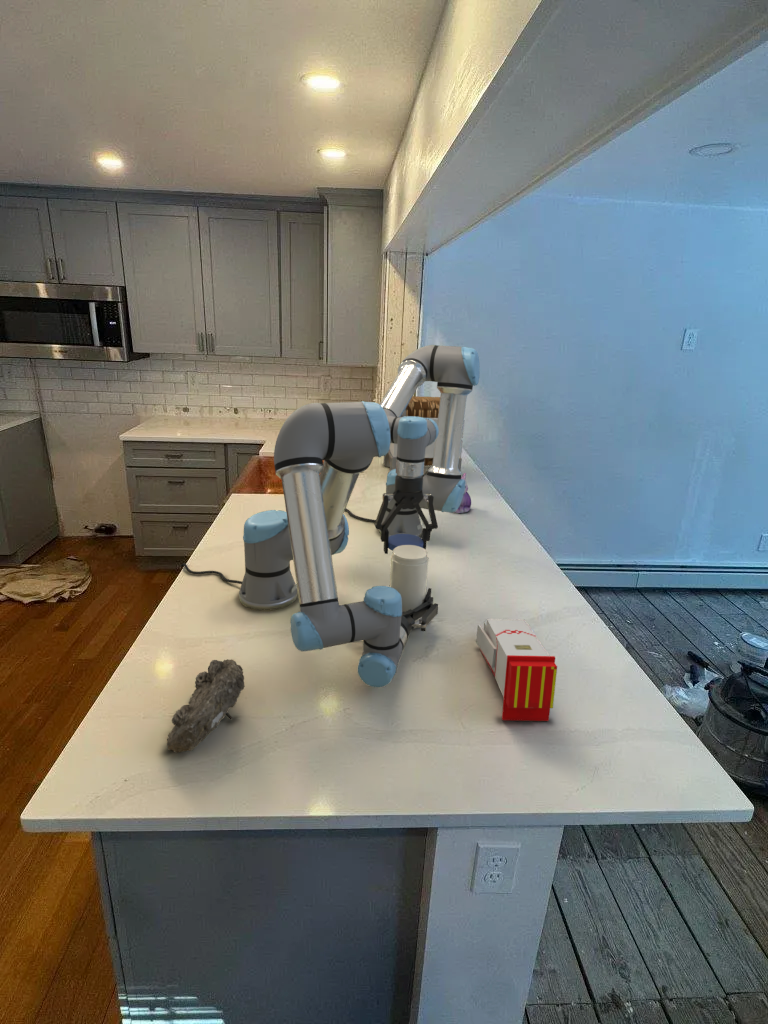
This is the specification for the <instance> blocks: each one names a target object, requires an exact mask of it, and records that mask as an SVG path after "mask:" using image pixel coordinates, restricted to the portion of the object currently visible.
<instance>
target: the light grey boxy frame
mask: <svg viewBox="0 0 768 1024" xmlns="http://www.w3.org/2000/svg"><path fill="white" fill-rule="evenodd" d="M439 405H440V396H415V395H413V396H412V398H411V400H410V402H409V404H408V405H407V407H406V409H405V411H404V412H403V414H402V416H401V417H407V416H416V417H422V418H430V419H432V420H434V421H435V422H436V424H437V422H438V413H439ZM464 429H465V419H464V423H463V431H462V438H461V446H460V454H459V462H458V469H459V471H460V472H461V473H462V461H463V460H462V453H463V442H464V441H463V440H462V439H463V438H464V431H465V430H464ZM434 447H435V441H434V442H433V443H432V444H431V445H428V446H427V447H426V449H425V460H424V467H431V466H432V464H433V456H434ZM396 460H397V444H394V443H390V448H389V451H388V453H387V454H386V455H385V456H383V466H384V467H388V468H389V472H390V471H391V470H393V469H396Z"/></svg>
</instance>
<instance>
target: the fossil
mask: <svg viewBox="0 0 768 1024" xmlns="http://www.w3.org/2000/svg"><path fill="white" fill-rule="evenodd" d="M243 670H244V669H243V667H242V665H240V664H237V662H236V661H235V660H234V659H232V658H231V659H227V658H226V659H224V660H223V661H222V660H217V659H212V660H211V661H210V663H209V665H208V666H207V671H201V672H199V673H198V674H197V675H196V676H195V680H194V684H195V685H194V687H195V689H194V690H193V693H192V694H191V697H190V698H189V700H188V704H184V705H182V706H181V707H180V709H177V710H176V711H175V713H174V715H173V716H172V718H171V723H172V724H173V727H172V730H171V731H170V732H168V734H167V738H166V741H167V742H166V745H167V749H168V750H169V751H173V752H174V753H176V754H178V753H182V752H188V751H189V752H192V751H193V750H195V748H196V747H197V746H199V744H200V743H201V742H203V741H204V740H205V739H206V738H207V737H208V736H209V735H210V734H211V733H212V732H214V730H215V729H217V727H218V726H219V724H220V722H221V721H222V720H223V719H224V718H225V716H226V717H227V719H229V720H233V717H232V715H230V714H229V710H230V709H231V708H234V706H235V704H236V703H237V702H238V699H239V697H240V695H241V693H242V691H243V690H245V689H244V688H245V675H244V671H243Z"/></svg>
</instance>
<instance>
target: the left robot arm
mask: <svg viewBox="0 0 768 1024" xmlns="http://www.w3.org/2000/svg"><path fill="white" fill-rule="evenodd" d="M379 404H380V403H379V402H374V401H364V400H362V401H347V402H346V401H345V402H343V401H342V402H311V403H307V404H304V405H302V406H300V407H298V408H297V409H295V410H294V411H293V412H291V413H290V415H289V416H288V417H287V418H286V419H285V421H284V422H283V424H282V426H281V427H280V429H279V432H278V435H277V437H276V440H275V443H274V449H273V464H274V465H273V466H274V471H275V472H274V473H275V476H277V477H278V478H279V479H280V480H281V484H282V491H283V499H284V504H285V506H284V507H285V510H280V509H278V510H276V509H268V510H264V511H260V512H256V513H254V514H252V515H251V516H250V517H248V518H247V519H246V520H245V522H244V524H243V536H242V540H243V546H244V547H243V548H244V549H243V550H244V575H243V578H242V580H237V579H236V580H235V579H228V578H226V577H225V576H224V574H223V573H222V572H220V571H217V570H202V571H196V570H195V571H193V570H191V569H190V568H189V567H188V565H187V563H186V562H183V563H181V565H180V567H182V568H183V567H184V568H185V570H186V571H187V573H189V574H191V575H192V574H193V575H205V574H206V575H207V574H216V575H218V576H220V578H221V579H222V580H223V581H225V582H226V583H230V584H238V585H241V586H240V588H239V592H238V597H239V602H240V603H241V604H242V605H243V606H244V607H246V608H248V609H251V610H255V611H276V610H281V609H283V608H286V607H288V606H291V605H292V604H293V603H295V602H296V600H297V598H298V603H299V609H300V610H298V611H297V612H294V613H293V614H291V617H290V620H289V621H290V633H291V639H292V642H293V645H294V647H295V648H296V649H297V650H298V651H300V652H308V651H309V652H310V651H317V650H319V651H320V650H323V649H327V648H331V647H336V646H340V645H346V644H350V643H357V642H361V641H362V654H361V656H360V658H359V659H358V665H357V675H358V677H359V678H360V680H361V682H363V684H365V685H367V686H369V687H372V688H377V689H378V688H384V687H386V686H388V685H389V684H391V682H392V681H393V678H394V677H395V675H396V674H397V669H398V666H399V663H400V661H401V658H402V655H403V653H404V649H405V647H406V644H407V642H408V639H409V637H410V634H411V633H412V630H414V629H417V628H419V629H420V631H421V632H426V630H427V626H428V625H429V624H430V623H431V622H432V621H433V620H434V619H435V618H436V616H437V615H438V613H439V603H434V596H432V590H433V589H432V588H431V587H428V589H427V590H426V597H425V599H424V603H423V604H422V605H420V606H418V607H416V608H414V609H413V610H411V609H410V610H408V611H406V612H403V611H402V598H401V595H400V593H399V592H398V591H397V590H396V589H394V588H391V587H389V586H390V584H389V585H388V586H387V585H374V586H372V587H371V588H368V589H367V590H366V591H365V593H364V597H363V600H362V601H357V602H350V603H346V604H340V603H339V596H338V589H337V581H336V577H335V576H336V575H335V569H334V563H333V562H334V561H333V556H334V555H337V554H341V553H342V552H343V551H344V550H345V549H346V548H347V546H348V543H349V535H350V528H349V522H348V519H347V518H346V515H345V514H344V513H345V512H346V511H345V508H346V509H347V506H348V503H349V501H350V499H351V496H352V494H353V491H354V488H355V486H356V483H357V481H358V478H359V476H360V474H361V473H363V472H365V471H366V470H368V469H369V467H371V464H372V462H373V459H374V458H382V457H384V456H385V455H386V454H387V453H388V451H389V448H390V428H389V422H388V419H387V415H386V413H385V411H384V409H383V408H382V406H381V405H379ZM291 561H293V568H294V575H295V579H294V577H293V574H292V572H291ZM421 617H422V618H421ZM417 619H419V620H418V621H417V622H415V620H417ZM414 627H416V628H414Z"/></svg>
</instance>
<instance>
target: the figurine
mask: <svg viewBox="0 0 768 1024" xmlns="http://www.w3.org/2000/svg"><path fill="white" fill-rule="evenodd" d="M461 479H463V480H465V482H466V480H467V472H463V474H462V475H461ZM468 490H469V487H468V484H467V482H466V484H465V490H464V494H463V498H462V501H461V503H460V506H459V508H458V509H457V510H456V511H455V512H454V513H456V514H463V513H468V512H469V511H470V510H471V506H472V498H471V496H470V493H469V492H468Z"/></svg>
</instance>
